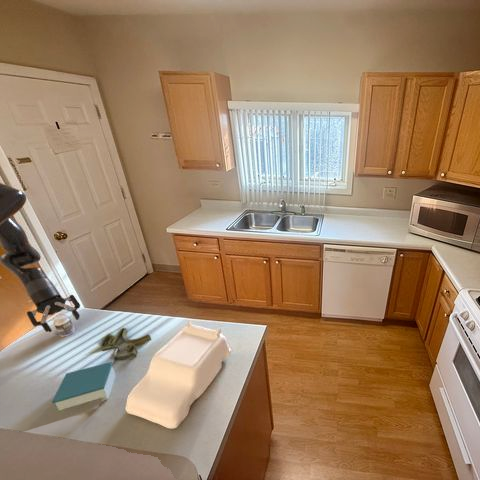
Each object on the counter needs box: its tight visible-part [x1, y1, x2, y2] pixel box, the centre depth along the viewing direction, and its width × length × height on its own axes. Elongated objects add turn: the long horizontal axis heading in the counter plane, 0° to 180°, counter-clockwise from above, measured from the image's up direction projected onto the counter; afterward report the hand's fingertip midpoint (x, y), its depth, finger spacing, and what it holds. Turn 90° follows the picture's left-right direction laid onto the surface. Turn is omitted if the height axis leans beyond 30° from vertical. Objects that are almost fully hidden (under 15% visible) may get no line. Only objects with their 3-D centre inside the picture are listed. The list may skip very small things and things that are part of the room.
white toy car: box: [125, 320, 232, 430], centre depth 85 cm, size 19×30×13 cm, turn 165°
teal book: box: [51, 361, 117, 411], centre depth 80 cm, size 12×10×6 cm
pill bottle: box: [52, 312, 76, 337], centre depth 102 cm, size 5×5×8 cm
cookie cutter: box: [99, 327, 152, 361], centre depth 99 cm, size 18×12×2 cm, turn 75°
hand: (64, 325), depth 101 cm, fingers open, 8 cm apart
